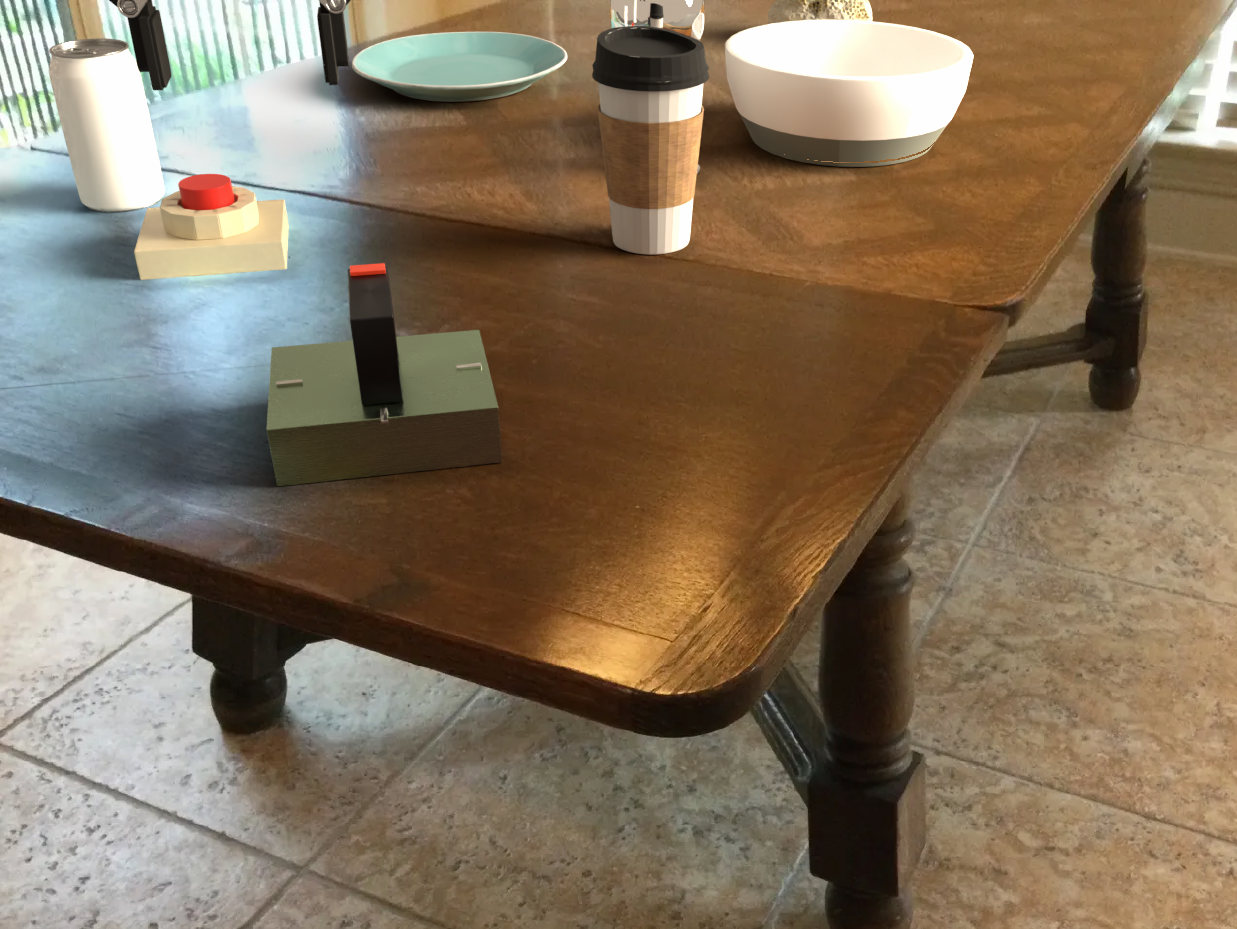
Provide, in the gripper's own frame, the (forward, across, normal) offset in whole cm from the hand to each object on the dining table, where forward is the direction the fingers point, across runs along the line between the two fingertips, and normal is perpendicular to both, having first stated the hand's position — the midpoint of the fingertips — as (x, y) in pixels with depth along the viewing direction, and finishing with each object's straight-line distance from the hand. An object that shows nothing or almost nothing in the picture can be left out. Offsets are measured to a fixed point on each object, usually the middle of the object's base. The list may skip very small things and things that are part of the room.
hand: (248, 81), depth 77 cm
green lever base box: (+16, +6, -15) cm, 23 cm away
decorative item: (+16, +58, +72) cm, 93 cm away
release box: (+16, -6, +15) cm, 23 cm away
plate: (+16, +15, +60) cm, 64 cm away
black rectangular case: (+12, +6, -15) cm, 20 cm away
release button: (+13, -6, +15) cm, 20 cm away
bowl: (+16, +49, +35) cm, 62 cm away
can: (+16, -14, +28) cm, 35 cm away
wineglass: (+16, +30, +28) cm, 44 cm away
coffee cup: (+16, +26, +12) cm, 33 cm away
